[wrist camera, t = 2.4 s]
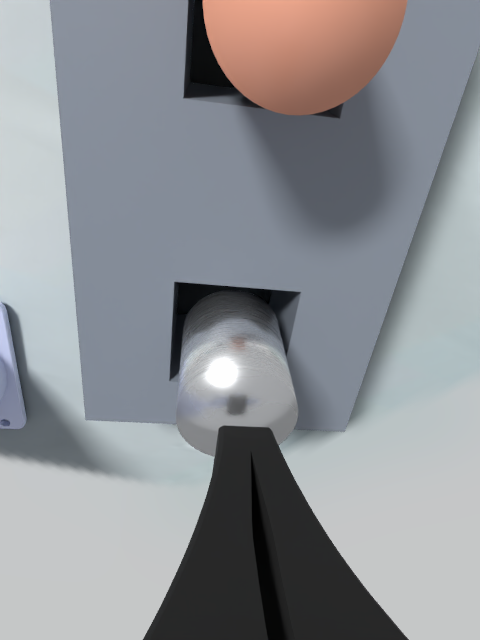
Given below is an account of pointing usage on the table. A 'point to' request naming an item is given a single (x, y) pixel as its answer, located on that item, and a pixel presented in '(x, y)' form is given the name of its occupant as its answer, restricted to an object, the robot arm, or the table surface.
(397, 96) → the plug panel
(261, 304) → the steel plug
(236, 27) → the terracotta plug
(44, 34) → the table surface
